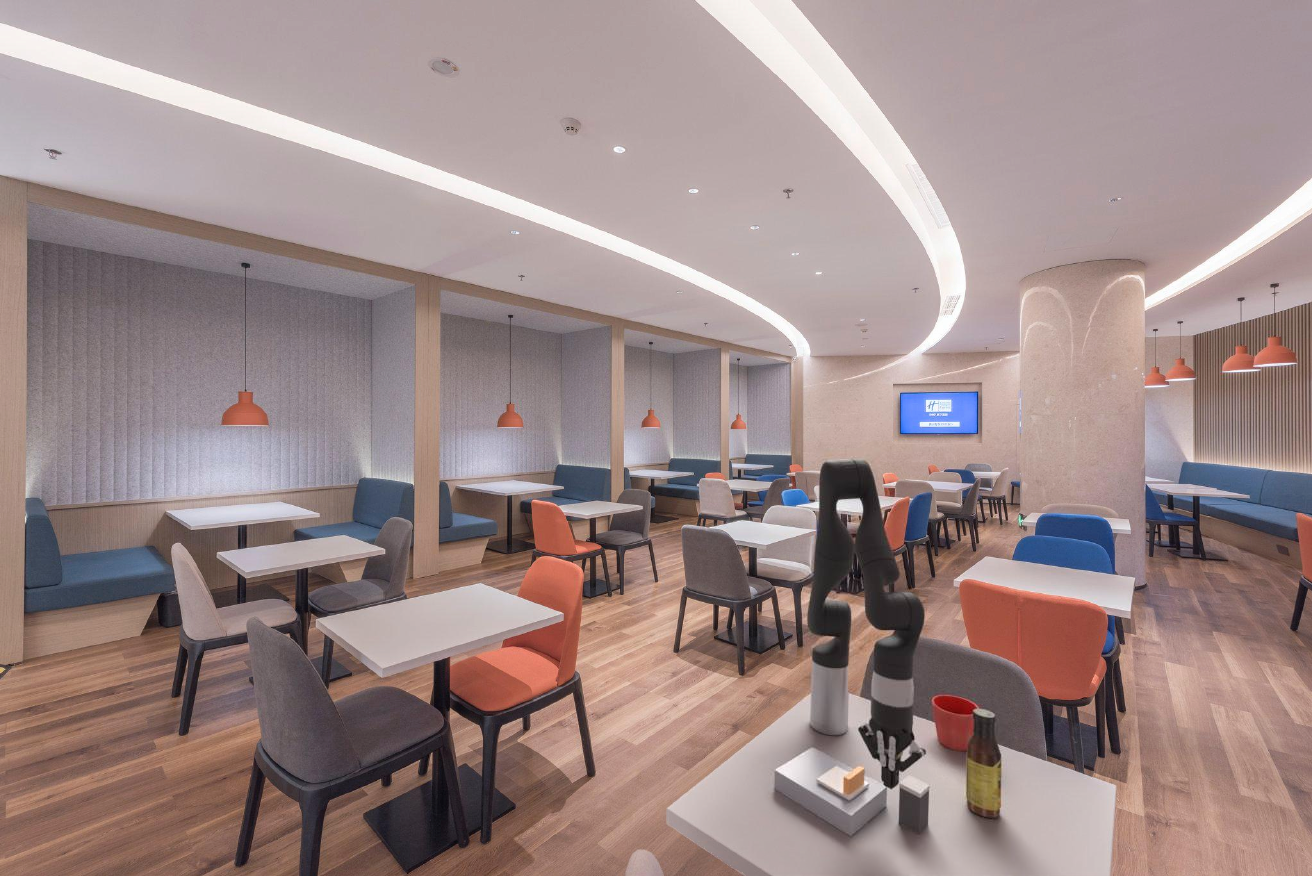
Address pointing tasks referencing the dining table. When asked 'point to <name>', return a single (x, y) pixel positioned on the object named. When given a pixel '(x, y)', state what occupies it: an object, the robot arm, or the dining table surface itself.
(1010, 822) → the dining table surface
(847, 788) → the shutter
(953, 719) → the flower pot
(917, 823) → the plug
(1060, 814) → the dining table surface
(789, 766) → the socket block
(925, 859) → the dining table surface
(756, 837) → the dining table surface
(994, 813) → the sauce bottle
